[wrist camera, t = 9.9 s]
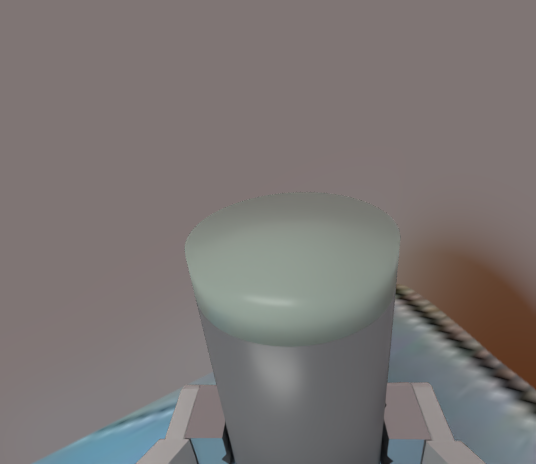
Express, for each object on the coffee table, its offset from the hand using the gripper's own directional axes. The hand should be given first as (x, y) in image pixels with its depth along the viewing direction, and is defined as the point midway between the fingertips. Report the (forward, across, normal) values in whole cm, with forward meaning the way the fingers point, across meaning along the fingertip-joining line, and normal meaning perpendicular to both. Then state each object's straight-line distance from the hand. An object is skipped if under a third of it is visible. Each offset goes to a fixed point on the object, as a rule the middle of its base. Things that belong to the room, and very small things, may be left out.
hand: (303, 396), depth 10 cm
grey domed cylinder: (-1, 0, +8) cm, 8 cm away
